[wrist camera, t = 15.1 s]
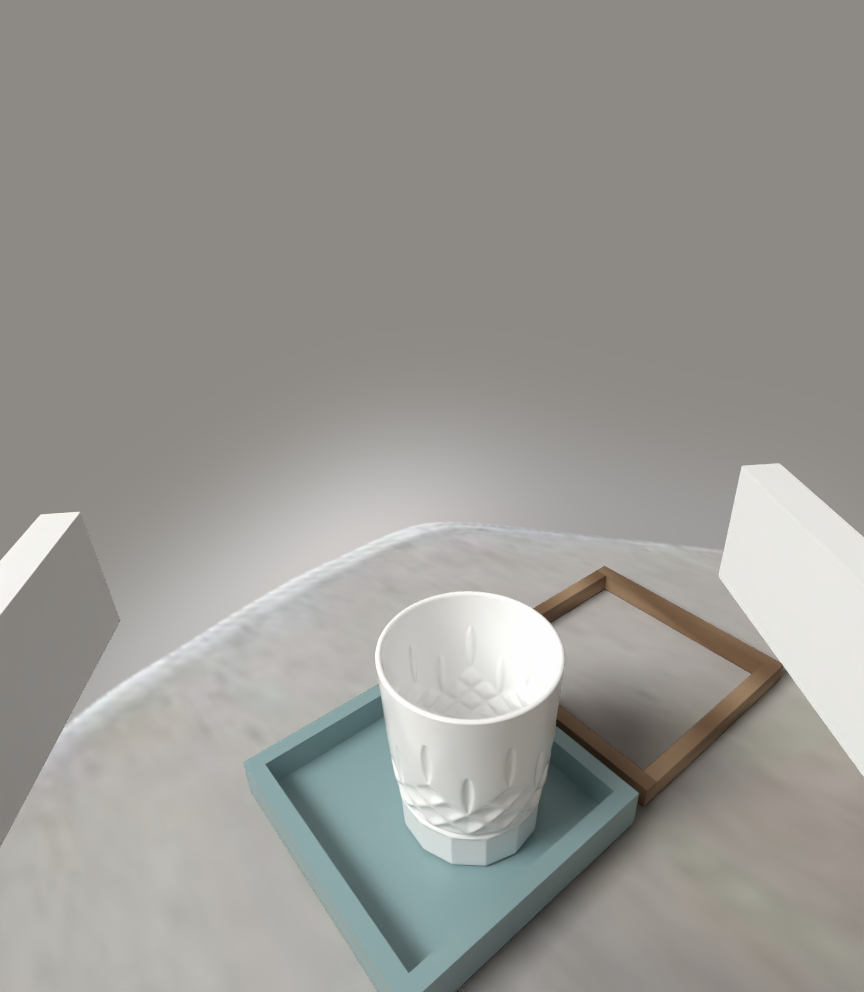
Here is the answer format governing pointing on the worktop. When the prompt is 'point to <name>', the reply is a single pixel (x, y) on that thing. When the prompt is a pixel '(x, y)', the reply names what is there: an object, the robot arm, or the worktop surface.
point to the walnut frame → (709, 636)
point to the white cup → (470, 720)
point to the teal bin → (406, 865)
